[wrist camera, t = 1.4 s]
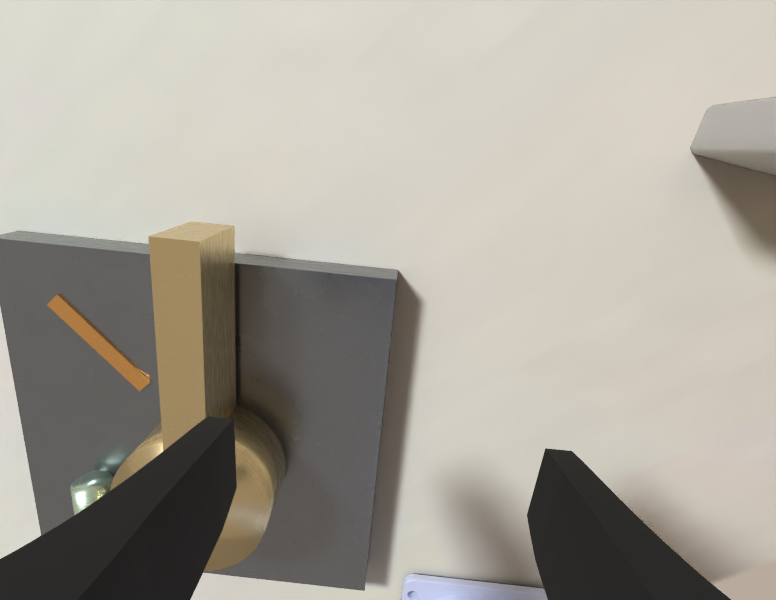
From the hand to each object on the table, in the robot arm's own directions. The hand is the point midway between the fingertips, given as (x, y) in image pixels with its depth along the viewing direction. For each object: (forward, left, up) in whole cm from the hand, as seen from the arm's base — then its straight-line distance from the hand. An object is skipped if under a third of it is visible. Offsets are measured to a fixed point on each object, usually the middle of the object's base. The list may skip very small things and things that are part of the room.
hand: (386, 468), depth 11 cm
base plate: (-6, +8, -10) cm, 14 cm away
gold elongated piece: (-3, +7, -8) cm, 11 cm away
